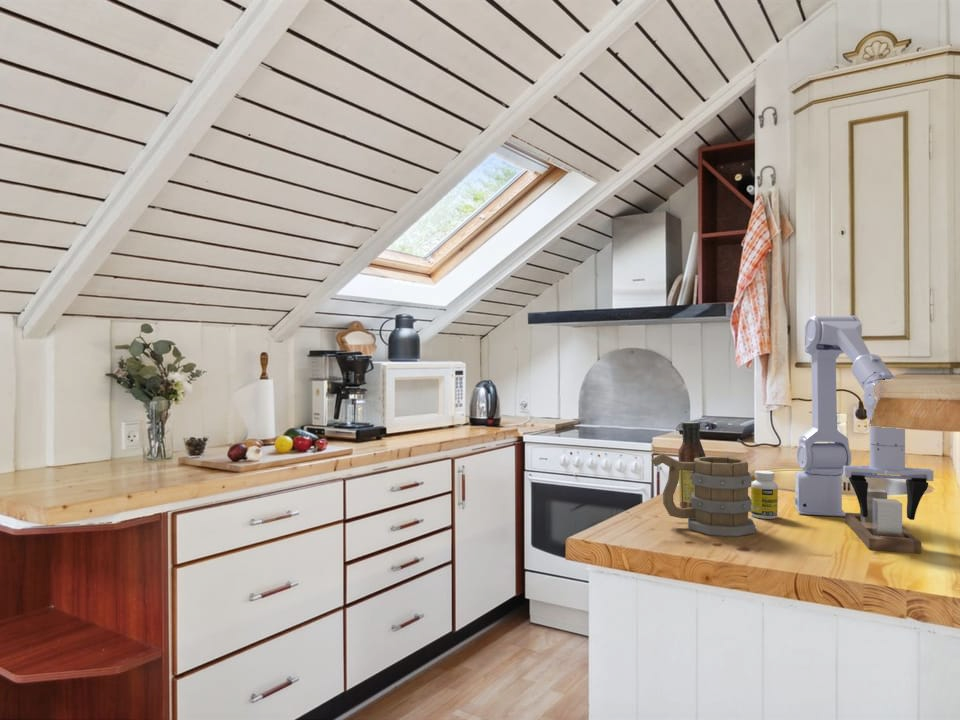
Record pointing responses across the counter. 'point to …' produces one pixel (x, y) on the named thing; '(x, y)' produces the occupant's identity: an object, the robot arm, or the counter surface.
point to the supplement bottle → (764, 495)
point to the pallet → (865, 533)
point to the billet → (887, 518)
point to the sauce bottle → (688, 460)
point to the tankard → (712, 494)
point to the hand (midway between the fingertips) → (887, 517)
